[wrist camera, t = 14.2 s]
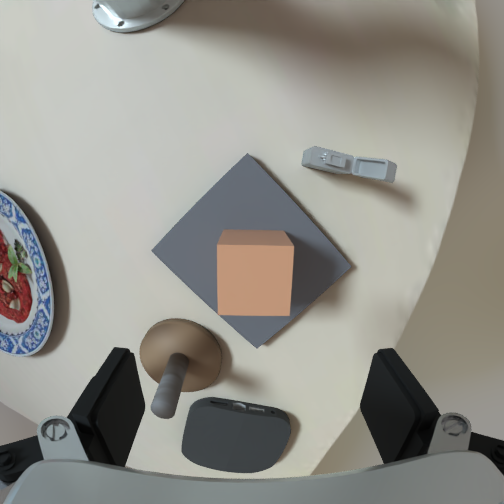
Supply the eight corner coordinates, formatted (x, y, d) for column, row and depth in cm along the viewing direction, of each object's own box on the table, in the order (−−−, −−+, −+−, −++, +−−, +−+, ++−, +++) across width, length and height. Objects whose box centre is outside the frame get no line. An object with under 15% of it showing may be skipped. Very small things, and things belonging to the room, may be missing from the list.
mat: (155, 247, 32) (151, 250, 31) (247, 154, 30) (247, 153, 29) (256, 342, 35) (256, 348, 34) (347, 262, 33) (351, 266, 32)
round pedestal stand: (128, 349, 36) (97, 400, 25) (176, 302, 34) (151, 350, 24) (186, 396, 37) (172, 453, 27) (238, 356, 36) (236, 415, 26)
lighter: (301, 165, 31) (318, 161, 23) (304, 149, 30) (322, 141, 23) (363, 180, 31) (396, 183, 23) (366, 165, 31) (400, 163, 23)
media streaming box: (180, 450, 41) (178, 463, 38) (192, 389, 38) (189, 403, 35) (267, 464, 42) (268, 477, 39) (296, 407, 39) (299, 422, 36)
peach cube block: (223, 229, 31) (216, 244, 24) (283, 230, 31) (294, 246, 24) (223, 286, 32) (217, 314, 25) (280, 287, 32) (289, 315, 25)
